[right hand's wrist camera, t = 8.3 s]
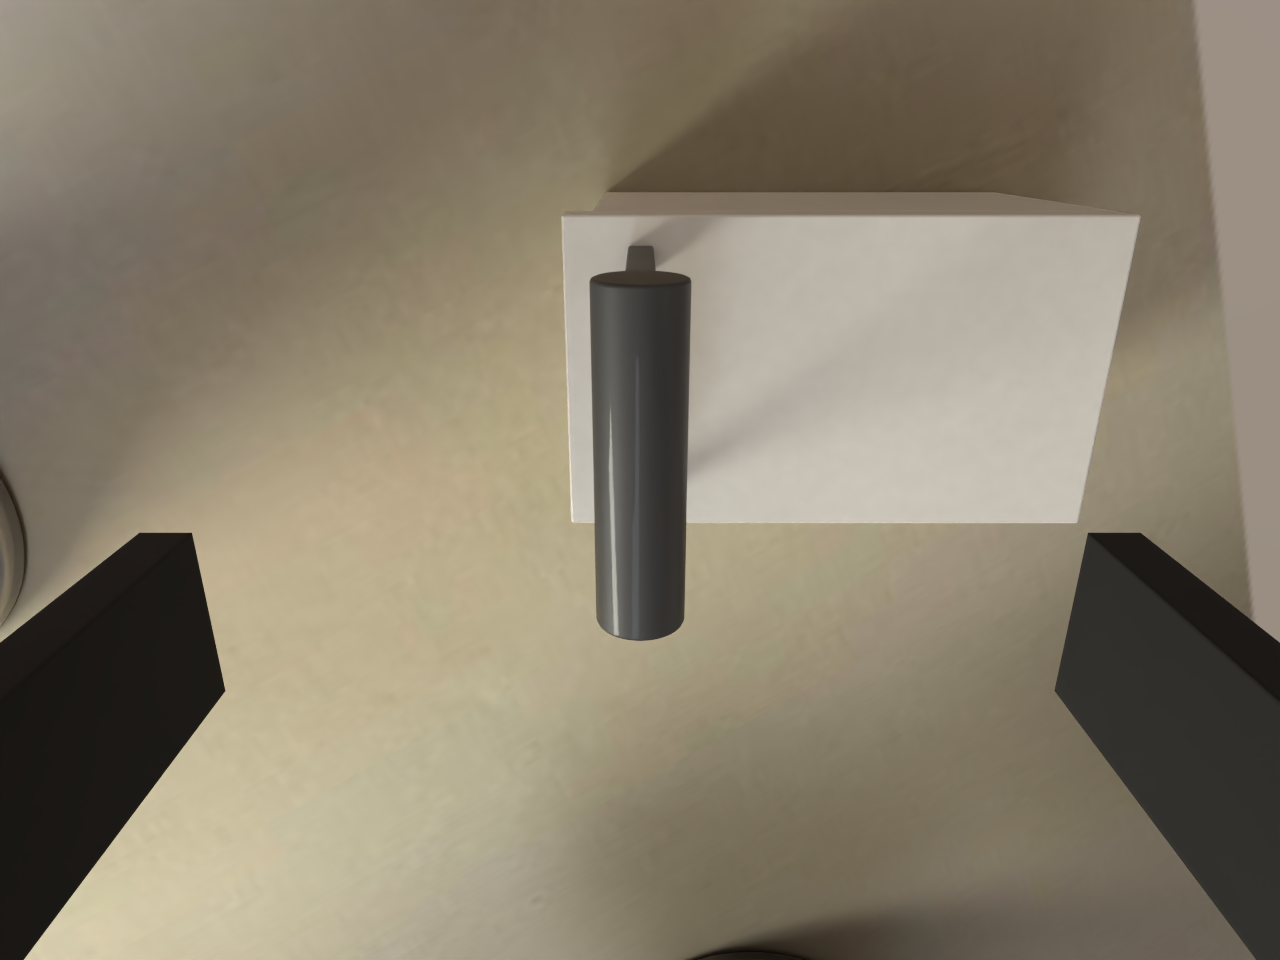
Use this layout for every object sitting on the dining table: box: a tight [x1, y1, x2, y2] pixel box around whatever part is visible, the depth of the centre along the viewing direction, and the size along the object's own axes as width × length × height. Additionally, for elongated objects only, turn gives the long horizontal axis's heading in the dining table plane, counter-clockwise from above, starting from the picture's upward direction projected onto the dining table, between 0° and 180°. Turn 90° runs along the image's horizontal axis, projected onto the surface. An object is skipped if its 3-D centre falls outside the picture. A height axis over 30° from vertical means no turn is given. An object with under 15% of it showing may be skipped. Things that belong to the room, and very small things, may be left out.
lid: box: [561, 211, 1141, 641], centre depth 22 cm, size 16×9×9 cm, turn 90°
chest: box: [594, 192, 1114, 211], centre depth 31 cm, size 15×9×9 cm, turn 90°
